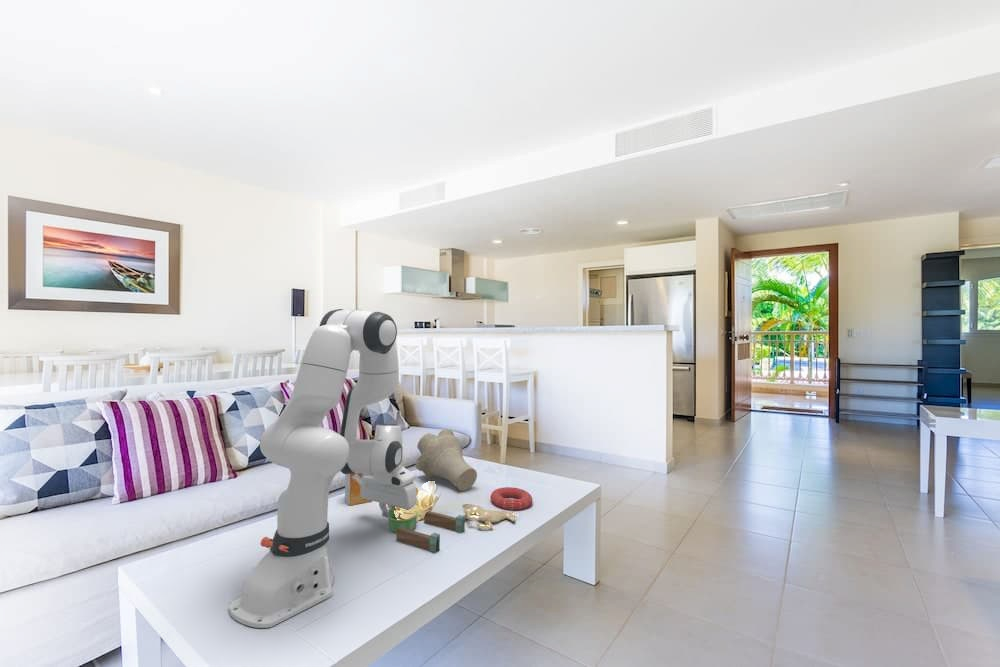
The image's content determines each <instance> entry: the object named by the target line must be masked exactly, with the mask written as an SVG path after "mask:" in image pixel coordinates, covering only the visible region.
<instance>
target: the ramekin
mask: <svg viewBox="0 0 1000 667" xmlns="http://www.w3.org/2000/svg"><path fill="white" fill-rule="evenodd" d="M394 510H395V509H394ZM394 510H393V511H391V512H389V514H388V518H387V519H388V526H389V530H390V532H393V533H396V534H397V529H398V528H399V527H402V528H405V529H409V530H412V531H414V530H415V529H416V526H417V517H418V512H417V513H416V515H415V516H414V517H412V518H410V519H405V520H397V518H396V517H395V514H394Z"/></svg>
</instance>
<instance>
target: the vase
mask: <svg viewBox="0 0 1000 667" xmlns="http://www.w3.org/2000/svg"><path fill="white" fill-rule="evenodd" d="M416 446H417V449H418V451H419V453H420V454H421V455H420V456H419V457H418V458H416V459H415V460H416V461H415V468H416V470H418V471H420V472H422V473H423V474H424V475H426V476H427V477H429V478H433V479H446V480H448V481H450V482H451V483H452V484H453V485H454V486H455V487H456V488H457V489H458V490H459V491H462V492H463V491H467V490H469V489H471V488H472V487H473V486H474V484H475V483H476V480H477V477H478V472H477V470H476V469H475V468H474V467H471V466H470V465H469V464H468V462H466V461H465V459H464V456H463V446H462V443H461V441H460V440H459V438H458V437H456V436H455V434H454V431H453V430H451V429H450V428H445V429H442V430H441V431H440V432H438V434H437V435H435V434H433V433H431V432H428V433H427V432H426V434H424V435H422V437H421V438H420V439H419V441H418V443H417V445H416Z"/></svg>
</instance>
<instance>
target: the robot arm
mask: <svg viewBox="0 0 1000 667" xmlns="http://www.w3.org/2000/svg"><path fill="white" fill-rule="evenodd" d="M397 335H398V329H397V324H396V322H395V320H394V318H393V317H392V316H390V315H389V314H387V313H384V312H381V311H371V310H363V309H358V308H355V309H352V308H351V309H350V308H348V309H347V308H346V309H343V308H337V309H333V310H330V311H328V312H327V313H326V314H324V315H323V317H322V318H321V320H320V322H319V326H318V327H316V328H315V329H314V331H313V332H312V334H311V336H310V338H309V340H308V342H307V344H306V347H305V350H304V353H303V355H302V359H301V362H300V365H299V369H298V373H297V376H296V379H295V381H294V382H295V383H294V386H293V389H292V391H291V392H292V393H291V396H289V400H288V401H287V403H286V405H285V407H284V408H283V410H282V412H281V413H280V415H279V417H278V418H277V419H276V420H275V421H274V422H273V423H272V424H269V426H267V427H266V428H265V430H264V431H263V433H262V434H261V437H260V438H259V439H260V440H259V448H260V451H261V454H262V455H263V456H264V457H265V458H266V459H267V460H269V461H270V462H271V463H273V464H274V465H275V466H276V465H277V466H280V467H281V468H282V467H283V468H286V469H288V470H289V472H290V478H289V482H288V486H287V488H286V489H285V490H284V491H283V492H281V494H280V495H279V497H278V498H277V499H278V500H277V518H276V520H277V521H276V522H277V526H276V527H277V529H276V530H275V533H274V535H273V538H269V537H267V536H264V537H263V538H261V540H260V546H261V547H263V548H267V549H269V551H268V552H267V553H266V554H265V555H264V556H263V558H262V559H261V560H260V561H259V562H258V563H257V565H256V566H255V567H254V568H253V569H252V570H251V572H250V573H249V574H248V575H246V576H245V579H244V581H243V583H242V584H243V585H242V589H241V595H240V596H239V597H237V598H236V599H235V600H234V601H232V602H231V603H229V606H228V612H229V613H228V614H229V615H230V616H231V618H233V619H234V620H235V621H237V622H239V623H241V624H243V625H244V626H245V625H246V626H248V627H252V628H258V629H269V628H271V627H274V626H276V625H278V624H280V623H281V622H283V621H286V620H288V619H289V618H292V617H293V616H295V615H296V616H297V614H299V613H301V612H304V611H305V610H307V609H309V608H311V607H314V606H315V605H317V604H319V603H321V602H323V601H325V600H326V599H328V598H331V597H332V596H333V584H334V581H335V577H334V575H333V572H332V567H331V562H330V553H329V544H328V543H329V540H330V522H329V521H328V512H329V510H328V508H329V494H330V489H331V485H332V482H333V481H334V478H335V477H336V475H337V474H338V473H340V472H341V473H342V474H343V475H345V474H356V473H363V474H362V482H361V488H360V495H361V497H362V498H363V499H367V500H371V501H372V502H375V503H378V507H379V508H380V510H381V516H382V517H384V518H387V519H388V514H389V512H391V511H393V510H395V509H396V508H398V509H399V508H403V509H406V510H409V509H413V508H414V507H415V506H416V504H417V487H416V483H415V482H414V481H415V480H416V474H415V473H413V472H412V471H410V470H409V469H407V468H405V467H404V466H403V448H404V447H403V434H402V428H401V425H400V424H398V423H387V422H386V423H384V422H383V423H382V422H381V423H379V424H376V426H375V431H374V439H360V438H358V437H357V434H358V427H359V420H360V415H361V411H362V409H365V408H366V407H369V406H370V405H373V404H377V403H380V402H382V401H384V400H386V399H388V398H389V397H390V396H392V395H393V394H394V393H395V391H396V389H397V388H398V384H399V357H398V350H397V346H396V339H397ZM353 351H358V353H359V362H358V364H359V365H358V371H359V373H358V378H357V382H356V383H355V385H354V386H352V387H351V388H349V390H348V393H347V395H346V398H345V399H346V400H345V402H344V409H343V414H342V421H341V426H340V432H339V433H338V432H336V431H335V430H333V429H330V428H327V427H322V426H321V425H322V423H323V421H324V419H325V418H326V416H327V415H328V413H329V412H330V411H331V410H332V409H334V408H336V407H337V406H338V405H339V403H340V401H341V399H342V398H341V397H342V393H343V390H344V387H345V382H346V377H347V374H348V371H349V370H348V369H349V365H350V360H351V359H350V358H351V354H352V352H353Z"/></svg>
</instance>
